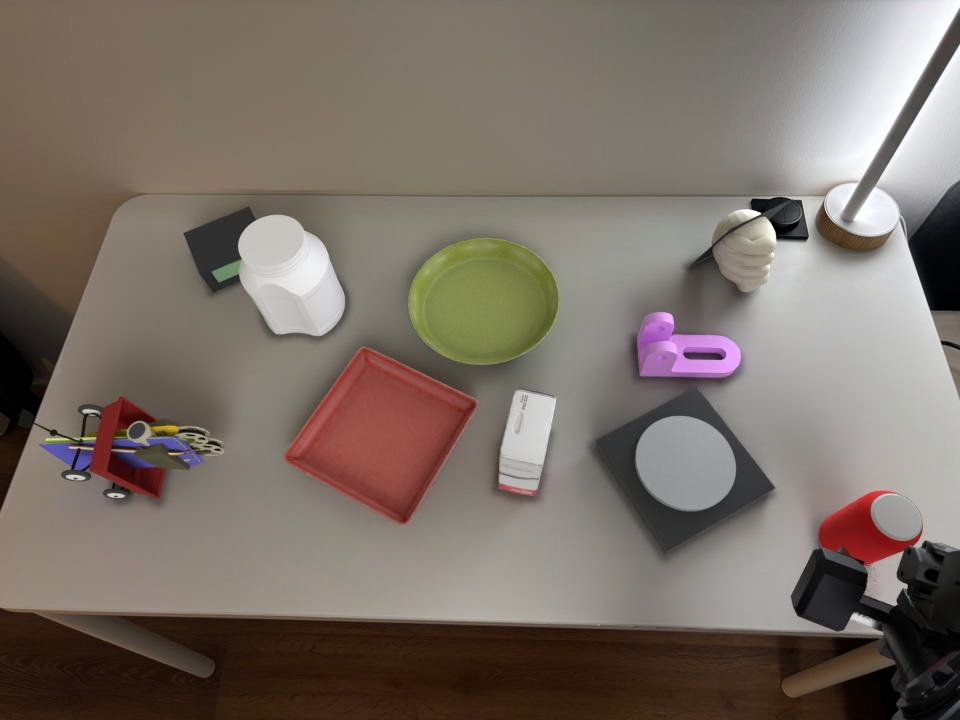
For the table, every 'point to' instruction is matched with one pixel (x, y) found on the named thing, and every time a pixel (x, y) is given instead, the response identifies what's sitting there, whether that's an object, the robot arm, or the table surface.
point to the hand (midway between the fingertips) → (890, 568)
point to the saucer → (483, 301)
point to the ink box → (525, 441)
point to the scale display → (219, 248)
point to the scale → (682, 468)
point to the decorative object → (744, 247)
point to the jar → (290, 277)
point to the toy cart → (127, 448)
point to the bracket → (681, 351)
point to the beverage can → (873, 526)
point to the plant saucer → (382, 434)
